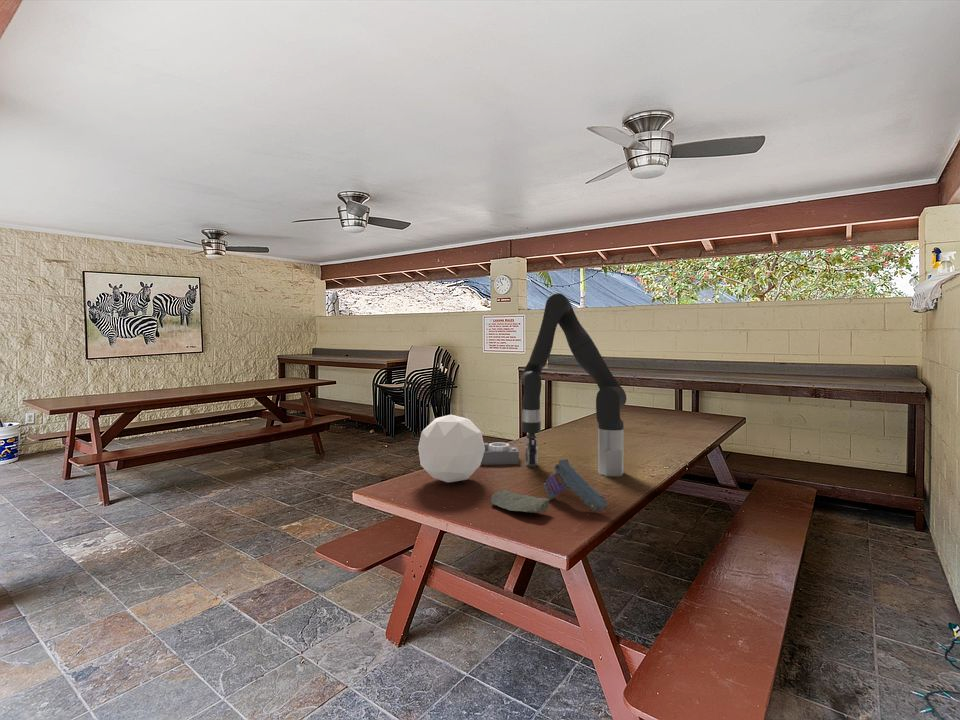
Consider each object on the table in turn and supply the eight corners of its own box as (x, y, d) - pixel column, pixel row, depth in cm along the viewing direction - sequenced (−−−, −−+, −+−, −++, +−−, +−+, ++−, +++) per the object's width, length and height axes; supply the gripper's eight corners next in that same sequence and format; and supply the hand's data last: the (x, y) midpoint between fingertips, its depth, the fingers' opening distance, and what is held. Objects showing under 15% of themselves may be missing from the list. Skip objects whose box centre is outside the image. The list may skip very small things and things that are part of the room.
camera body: (518, 466, 203) (518, 446, 203) (479, 466, 204) (479, 446, 203) (517, 460, 214) (517, 440, 214) (480, 460, 214) (480, 441, 214)
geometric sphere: (453, 469, 199) (452, 407, 198) (498, 482, 181) (498, 414, 180) (404, 482, 182) (403, 414, 181) (449, 497, 165) (448, 422, 164)
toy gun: (545, 486, 166) (564, 453, 160) (590, 534, 154) (612, 500, 147) (539, 488, 164) (558, 454, 158) (583, 537, 151) (605, 502, 145)
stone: (481, 501, 158) (501, 487, 165) (484, 512, 158) (504, 497, 165) (534, 511, 143) (553, 494, 150) (537, 522, 143) (556, 505, 150)
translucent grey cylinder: (538, 469, 199) (538, 443, 198) (526, 469, 199) (525, 444, 198) (537, 466, 204) (536, 441, 203) (525, 466, 204) (524, 441, 203)
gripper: (542, 423, 193) (542, 466, 194) (538, 417, 208) (539, 457, 208) (523, 423, 193) (523, 466, 194) (520, 417, 208) (521, 457, 208)
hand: (531, 461), depth 201 cm, fingers closed on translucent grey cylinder, 5 cm apart
